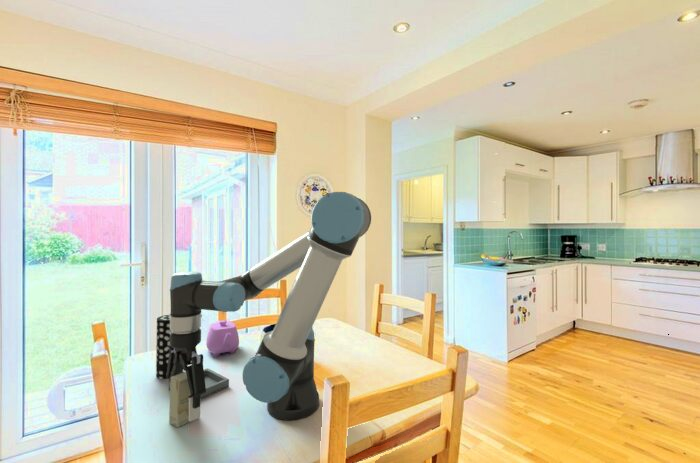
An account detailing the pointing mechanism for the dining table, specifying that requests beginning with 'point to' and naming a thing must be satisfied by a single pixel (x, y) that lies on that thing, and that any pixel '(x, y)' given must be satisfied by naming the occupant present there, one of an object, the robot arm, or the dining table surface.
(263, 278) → the robot arm
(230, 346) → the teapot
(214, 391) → the tray
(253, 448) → the dining table surface
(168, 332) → the white-spotted black cylinder
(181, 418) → the skincare box
